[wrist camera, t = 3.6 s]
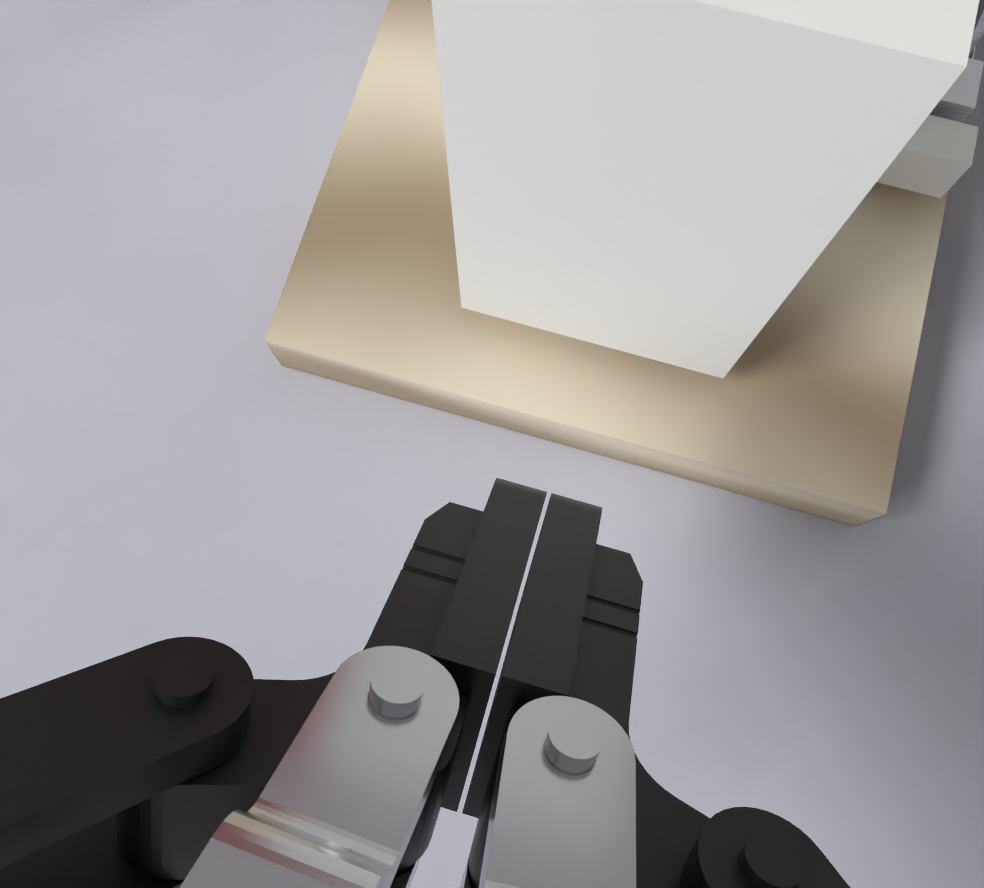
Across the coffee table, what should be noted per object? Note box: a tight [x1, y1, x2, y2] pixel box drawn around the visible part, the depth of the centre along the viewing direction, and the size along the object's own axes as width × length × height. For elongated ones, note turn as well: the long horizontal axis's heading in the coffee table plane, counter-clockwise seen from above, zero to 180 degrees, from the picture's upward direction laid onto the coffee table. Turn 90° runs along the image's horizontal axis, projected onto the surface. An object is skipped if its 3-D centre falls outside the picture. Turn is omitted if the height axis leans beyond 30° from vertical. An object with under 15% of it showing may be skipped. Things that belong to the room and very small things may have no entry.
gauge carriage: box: [431, 0, 984, 378], centre depth 13 cm, size 8×8×9 cm
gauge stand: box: [264, 0, 976, 526], centre depth 20 cm, size 17×12×2 cm
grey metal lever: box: [929, 11, 984, 123], centre depth 16 cm, size 1×2×5 cm, turn 74°
